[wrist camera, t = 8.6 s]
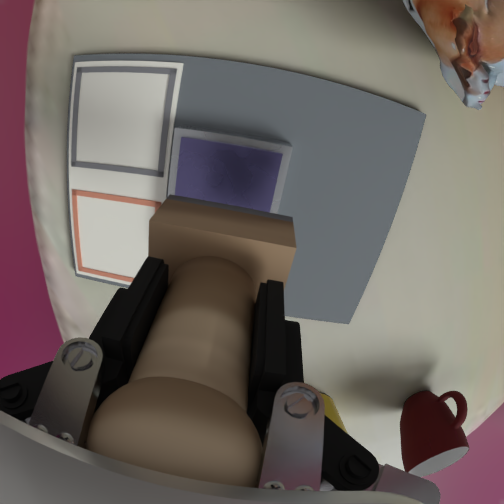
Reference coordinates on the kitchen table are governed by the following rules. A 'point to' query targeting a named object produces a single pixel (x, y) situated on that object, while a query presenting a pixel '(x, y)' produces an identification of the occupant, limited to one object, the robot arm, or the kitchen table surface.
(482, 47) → the lucky cat figurine
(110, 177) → the paper sheet
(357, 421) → the kitchen table surface
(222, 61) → the desk mat
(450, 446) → the mug
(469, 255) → the kitchen table surface
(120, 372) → the robot arm
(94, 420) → the stamp
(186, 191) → the ink pad
